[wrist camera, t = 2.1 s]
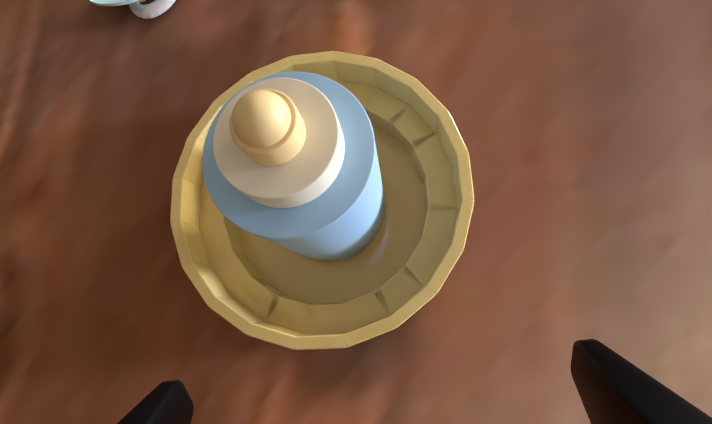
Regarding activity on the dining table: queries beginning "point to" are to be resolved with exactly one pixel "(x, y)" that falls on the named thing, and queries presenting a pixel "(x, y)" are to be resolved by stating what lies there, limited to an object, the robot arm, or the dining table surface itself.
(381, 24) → the dining table surface
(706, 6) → the dining table surface
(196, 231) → the bowl
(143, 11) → the pacifier
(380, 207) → the baby bottle
